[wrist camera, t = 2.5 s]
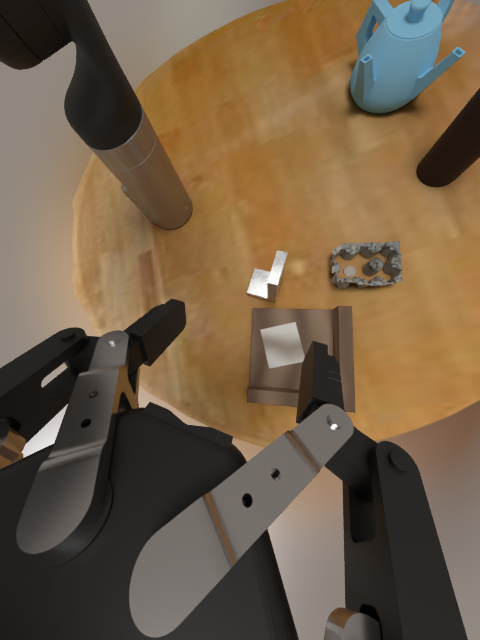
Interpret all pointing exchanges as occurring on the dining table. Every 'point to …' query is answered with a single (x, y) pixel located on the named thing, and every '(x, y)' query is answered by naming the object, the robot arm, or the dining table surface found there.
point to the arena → (297, 351)
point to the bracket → (268, 279)
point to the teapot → (399, 53)
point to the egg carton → (372, 266)
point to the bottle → (454, 147)
